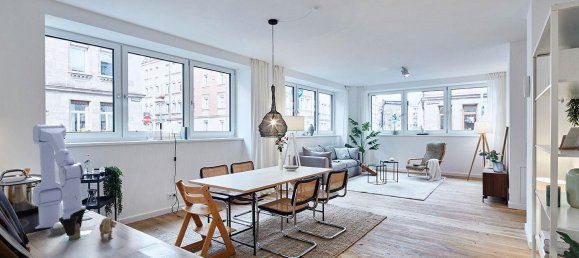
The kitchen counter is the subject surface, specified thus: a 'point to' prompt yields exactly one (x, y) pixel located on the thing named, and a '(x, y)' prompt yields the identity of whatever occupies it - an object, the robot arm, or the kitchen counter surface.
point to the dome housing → (57, 231)
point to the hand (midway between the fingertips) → (74, 231)
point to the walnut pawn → (76, 233)
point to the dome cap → (57, 225)
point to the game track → (83, 233)
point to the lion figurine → (106, 228)
